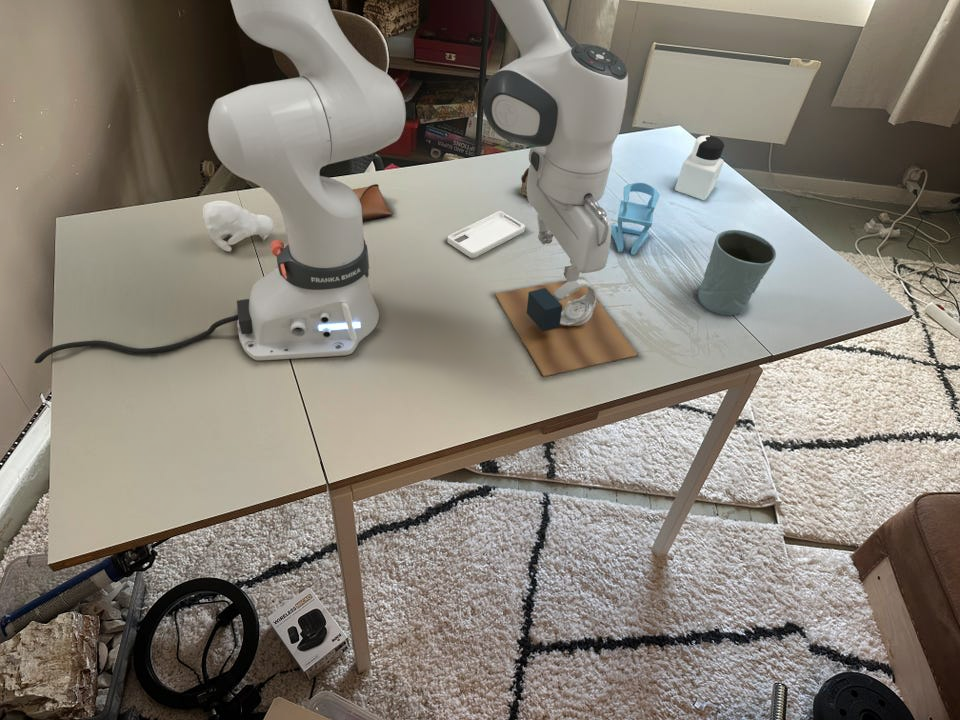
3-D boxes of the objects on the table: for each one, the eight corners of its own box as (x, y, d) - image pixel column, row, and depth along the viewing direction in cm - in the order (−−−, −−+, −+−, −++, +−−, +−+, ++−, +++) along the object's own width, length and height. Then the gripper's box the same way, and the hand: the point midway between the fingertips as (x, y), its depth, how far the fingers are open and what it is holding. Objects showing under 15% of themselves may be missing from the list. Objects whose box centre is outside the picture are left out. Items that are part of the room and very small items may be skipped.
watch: (541, 341, 105) (597, 325, 109) (546, 300, 100) (605, 285, 103) (525, 322, 109) (580, 307, 112) (529, 282, 103) (586, 268, 107)
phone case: (472, 259, 121) (525, 231, 129) (472, 253, 120) (526, 225, 128) (446, 241, 124) (499, 215, 132) (446, 236, 123) (500, 210, 131)
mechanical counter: (512, 160, 138) (528, 173, 130) (567, 150, 140) (586, 163, 132) (514, 192, 142) (530, 207, 134) (567, 182, 145) (586, 196, 136)
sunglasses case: (310, 235, 121) (300, 199, 119) (301, 234, 128) (291, 201, 125) (396, 214, 129) (388, 180, 127) (384, 214, 135) (376, 182, 133)
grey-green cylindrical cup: (683, 288, 119) (704, 233, 110) (728, 279, 122) (751, 225, 113) (715, 323, 112) (740, 268, 104) (762, 312, 115) (789, 258, 107)
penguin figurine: (198, 195, 114) (268, 190, 118) (205, 236, 119) (271, 230, 124) (203, 213, 110) (275, 208, 114) (209, 255, 115) (277, 248, 120)
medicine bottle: (714, 188, 147) (732, 138, 138) (704, 201, 142) (722, 150, 134) (684, 178, 149) (700, 128, 141) (674, 190, 145) (690, 140, 136)
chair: (606, 250, 126) (620, 196, 118) (610, 227, 132) (624, 174, 123) (645, 257, 125) (662, 203, 117) (648, 235, 131) (664, 182, 122)
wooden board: (543, 377, 100) (543, 375, 100) (495, 295, 114) (495, 293, 113) (637, 356, 105) (637, 354, 105) (580, 279, 118) (580, 278, 118)
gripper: (631, 216, 81) (607, 299, 91) (564, 139, 94) (549, 219, 104) (587, 222, 79) (567, 306, 89) (524, 143, 92) (513, 224, 102)
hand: (557, 259), depth 97 cm, fingers open, 8 cm apart
